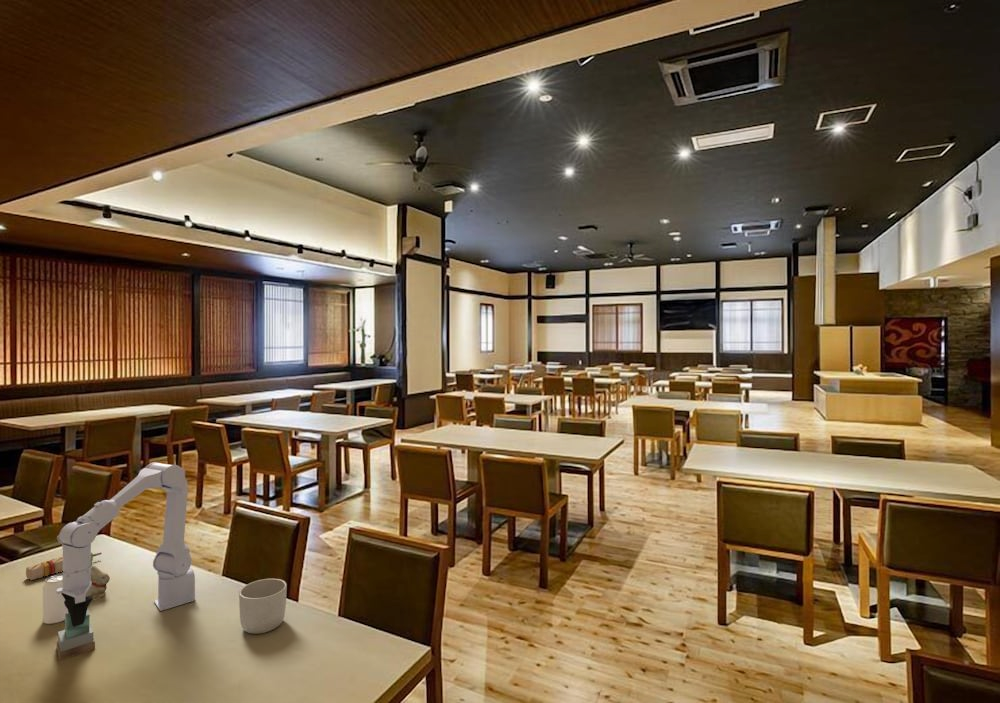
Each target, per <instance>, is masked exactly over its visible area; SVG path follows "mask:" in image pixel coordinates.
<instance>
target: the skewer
mask: <svg viewBox="0 0 1000 703" xmlns="http://www.w3.org/2000/svg"><path fill="white" fill-rule="evenodd" d="M100 555H102V552H97V553H94V554H93V552H91V564H92V563H93V559H94V557H97V556H100ZM61 571H63V556H61V557H57V558H52V559H50V560H47V561H43V562H40V563H38V564H34V565H30V566H28V567H26V570H25V577H27V578H26V579H28V580H29V579H30V581H33V580H34V581H35V580H37V578H38V579H40V578H43V576H44V577H45V576H47V577H49V576H50V574H53V575H55V574H54V573H56V574H59V573H58V572H61ZM61 573H62V572H61ZM48 575H49V576H48Z"/></svg>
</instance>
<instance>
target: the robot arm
mask: <svg viewBox="0 0 1000 703" xmlns="http://www.w3.org/2000/svg"><path fill="white" fill-rule="evenodd" d="M156 488H161V489H162V490H163V491H164V492H166V502H165V503H166V504H165V513H164V514H165V516H164V526H163V540H162V543H161V544H160V545H159V546H158V547H157V548H156V554H155V556H154V559H153V560H152V567H153V568H154V570H155V571H157V576H158V578H157V579H158V583H157V584H158V588H157V590H158V591H157V592H158V593H157V599H154V601H153V602H154V603H155V604H154V605H155V606H156V607H157V608H158V610H159V612H161V611H165V610H169V609H171V608H175V607H179V606H181V605H184V604H188V603H190V602H191V603H192V602H195V601H196V597H195V596H196V577H195V576H196V575H195V572H194V570H193V568H191V567H192V556H191V555H190V554H191V553H190V550H191V549H190V547H189V546H188V544H186V542H185V530H186V518H187V505H188V494H189V483H188V481H187V478H186V469H184V468H182V467H181V466H180V465H178V464H168V463H161V462H158V461H154V462H151V463H149V464H147V465H146V466H145V467H143V468H142V469H140V470H139V473H138V475H136V476H135V478H133V479H132V480H131V481H130V482H129V483H128V484H127V485H125V486H124V487H123V488H122V489H121V490H120V491H118V493H116V494H115V495H114V496H113V497H111V498H110V499H104V500H101V501H97V502H96V503H94V504H93V505H94V506H93V507H92V508H90V510H88V511H87V512H86V513H85V514H83V515H81V516H79V517H78V518H77V519H76V520H75V521H73V522H68V523H67V524H65V525H64V526H63V527H62V528H61V529H60V531H59V534H58V535H57V536H56V539H57V541H58V543H60V544H61V545H62V557H63V572H62V574H63V586H62V588H59V589H57V590H56V592H57V594H60V593H61V594H62V595H63V597H64V598H65V600H66V601H64V604H65V606H66V607H67V609H68V612H69V613H70V617H71V622H72V625H73V627H75V626H78V625H81V624H83V623H84V620H85V616H86V612H87V609H88V610H89V606H90V604H91V603H92V601H93V600H92V599H93V596H92V595H90V596H87V597H85V596H86V593H87V591H88V590H89V588H90V587H91V585H92V582H91V567H92V563H91V553H92V543H94V541H95V539H96V538H97V535H98V533H99V532H100V531H101V530H102V529H103V528H104V527H106V525H108V524H109V523H111V521H113V520H114V519H115V518H117V517H118V515H119V514H120V511H121V508H122V507H123V506H125V505H126V504H127V503H129V502H130V501H131V500H133V499H135V498H136V497H137V496H138V495H140V494H141V493H143V492H145V491H146V490H147V489H156Z"/></svg>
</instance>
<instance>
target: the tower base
mask: <svg viewBox="0 0 1000 703" xmlns="http://www.w3.org/2000/svg"><path fill="white" fill-rule="evenodd" d="M95 649H96V640H95V637H93V642H90V643H87V644H84V645H81V646H78V647H75V648H71V649H68V650H65V651H62V652H61V651H60V647H59V643H58V640H56V651H57V654H58V658H59V661H62V660H64V659H65V660H66V659H69V658H71V657H74V656H78V655H79V654H80V655H81V654H83V653H85V652H89V651H92V650H95Z"/></svg>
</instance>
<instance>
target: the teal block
mask: <svg viewBox="0 0 1000 703" xmlns="http://www.w3.org/2000/svg"><path fill="white" fill-rule="evenodd" d="M90 615H91V614H90V612H89V608H88V609H87V612H86V616H85V620H84V623H83V624H81V625H78V626H75V627H73V625H72V622H71V617H70V613H68V614H65V621H64V623H65V624H64V630H65V633H66V637H67V638H70V637H73V636H76V635H80V634H83V633H86V632H89V622H90V618H91V617H90Z"/></svg>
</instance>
